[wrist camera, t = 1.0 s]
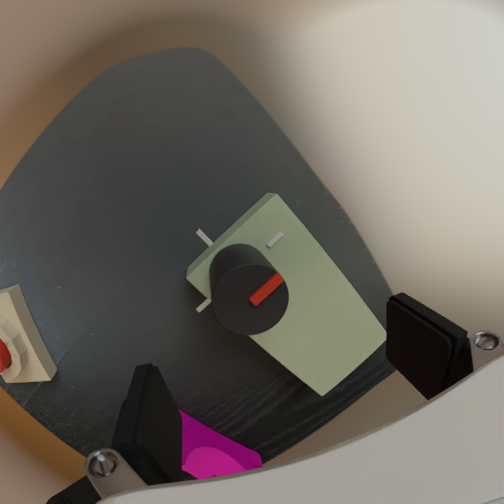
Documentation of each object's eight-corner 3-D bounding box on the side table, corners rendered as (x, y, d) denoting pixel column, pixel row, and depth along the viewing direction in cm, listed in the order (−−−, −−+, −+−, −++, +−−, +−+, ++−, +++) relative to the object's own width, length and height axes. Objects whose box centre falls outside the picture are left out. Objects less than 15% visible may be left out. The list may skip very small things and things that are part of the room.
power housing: (-23, 297, 20) (-42, 310, 16) (19, 283, 21) (-3, 298, 17) (13, 373, 23) (-1, 391, 19) (58, 369, 24) (44, 391, 20)
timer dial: (237, 311, 22) (249, 351, 16) (196, 272, 21) (194, 303, 15) (279, 272, 22) (305, 302, 16) (240, 230, 21) (255, 247, 15)
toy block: (133, 425, 27) (124, 473, 19) (165, 400, 26) (161, 453, 19) (225, 472, 31) (232, 514, 24) (259, 453, 31) (271, 497, 23)
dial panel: (161, 261, 23) (156, 272, 20) (252, 175, 23) (260, 173, 20) (304, 386, 29) (313, 404, 26) (374, 323, 28) (390, 337, 25)
